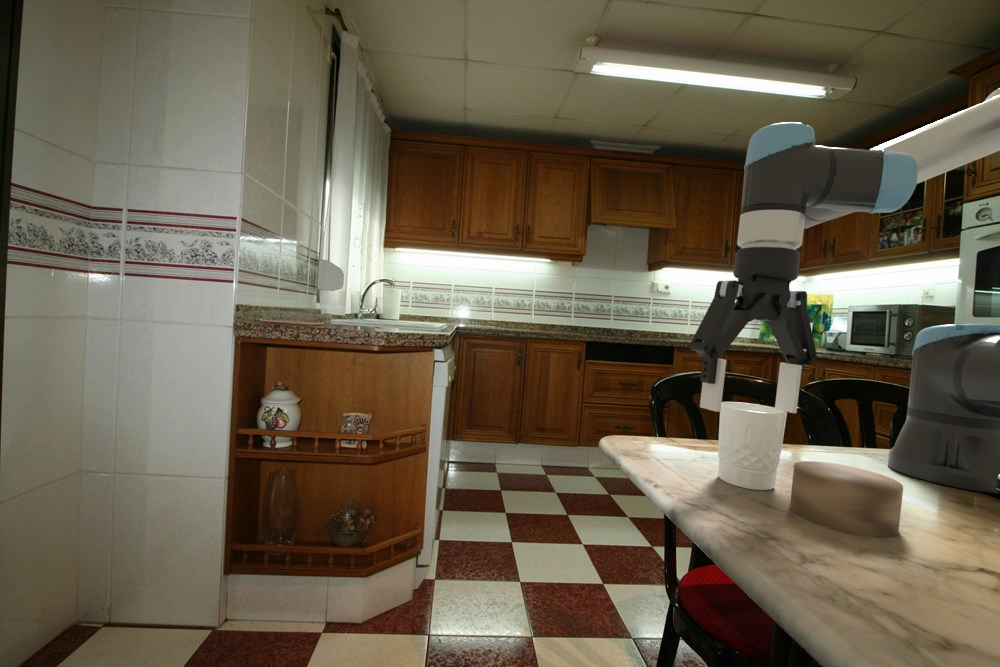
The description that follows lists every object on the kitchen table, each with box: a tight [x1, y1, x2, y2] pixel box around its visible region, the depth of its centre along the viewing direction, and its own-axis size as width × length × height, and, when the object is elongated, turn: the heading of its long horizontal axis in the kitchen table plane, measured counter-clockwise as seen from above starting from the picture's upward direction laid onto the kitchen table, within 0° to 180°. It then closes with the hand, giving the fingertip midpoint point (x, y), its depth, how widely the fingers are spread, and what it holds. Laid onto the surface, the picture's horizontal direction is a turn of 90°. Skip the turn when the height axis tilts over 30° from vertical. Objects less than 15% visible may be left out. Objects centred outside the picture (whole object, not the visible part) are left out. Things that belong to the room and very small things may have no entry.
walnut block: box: [789, 460, 904, 539], centre depth 56 cm, size 10×10×5 cm
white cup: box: [717, 401, 788, 491], centre depth 67 cm, size 8×8×10 cm
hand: (749, 410), depth 67 cm, fingers open, 13 cm apart
